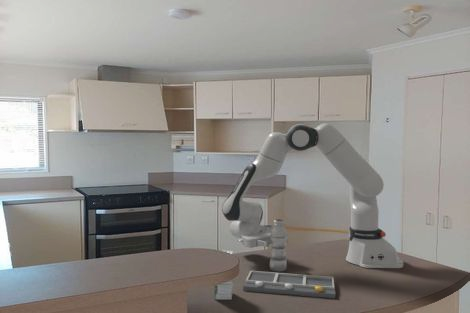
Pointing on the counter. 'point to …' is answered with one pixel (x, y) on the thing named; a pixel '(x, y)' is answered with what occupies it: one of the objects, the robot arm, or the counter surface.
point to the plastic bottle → (278, 247)
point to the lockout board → (290, 284)
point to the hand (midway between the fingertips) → (277, 242)
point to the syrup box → (224, 289)
